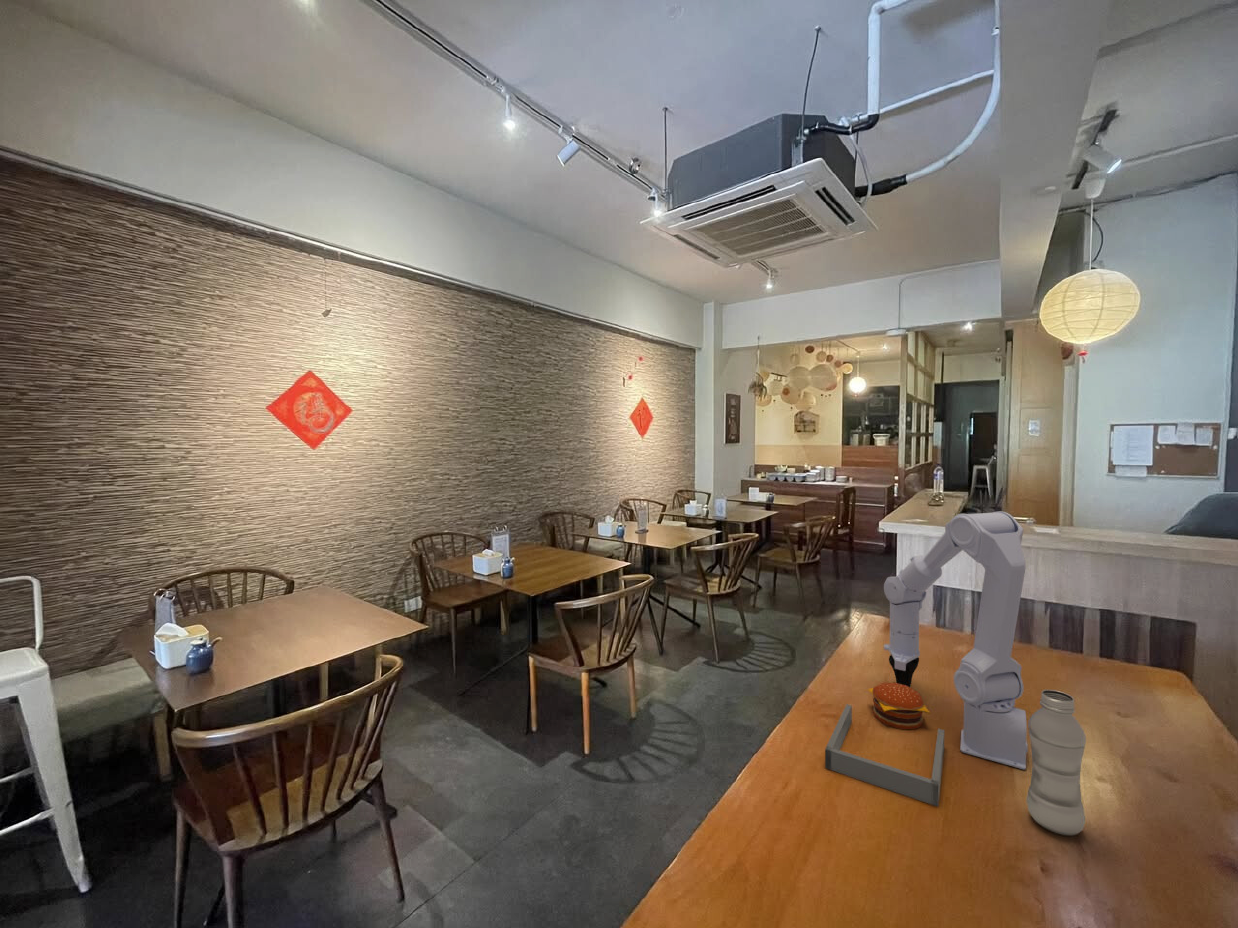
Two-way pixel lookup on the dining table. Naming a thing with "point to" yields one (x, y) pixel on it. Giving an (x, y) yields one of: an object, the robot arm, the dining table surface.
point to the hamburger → (898, 706)
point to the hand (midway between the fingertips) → (903, 689)
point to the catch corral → (883, 766)
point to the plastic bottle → (1056, 765)
